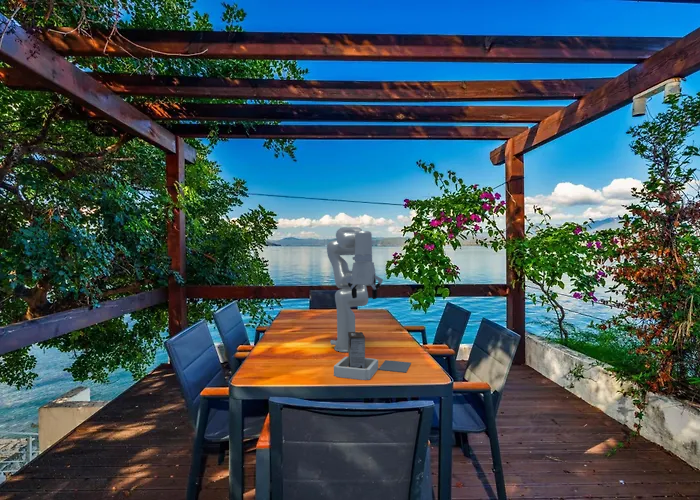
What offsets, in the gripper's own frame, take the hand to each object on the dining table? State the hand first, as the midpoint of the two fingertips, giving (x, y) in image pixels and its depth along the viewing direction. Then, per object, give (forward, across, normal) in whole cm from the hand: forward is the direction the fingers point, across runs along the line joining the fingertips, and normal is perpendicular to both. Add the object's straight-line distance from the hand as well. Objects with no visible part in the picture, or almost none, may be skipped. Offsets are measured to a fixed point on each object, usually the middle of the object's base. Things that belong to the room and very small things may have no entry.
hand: (364, 298), depth 153 cm
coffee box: (+31, -2, -6) cm, 31 cm away
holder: (+31, -2, -6) cm, 31 cm away
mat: (+31, +10, +8) cm, 33 cm away
